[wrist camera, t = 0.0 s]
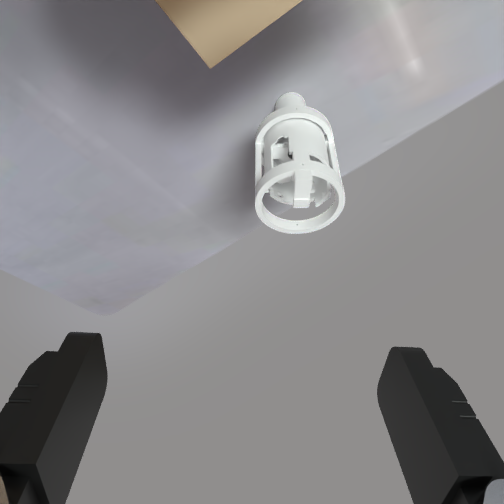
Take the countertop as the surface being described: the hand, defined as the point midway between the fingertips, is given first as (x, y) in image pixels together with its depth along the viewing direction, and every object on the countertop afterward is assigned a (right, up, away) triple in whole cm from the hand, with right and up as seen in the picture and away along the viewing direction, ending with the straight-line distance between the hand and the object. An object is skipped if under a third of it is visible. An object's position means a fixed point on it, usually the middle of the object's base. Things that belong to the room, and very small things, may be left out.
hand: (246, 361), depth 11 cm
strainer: (+4, +18, +28) cm, 34 cm away
